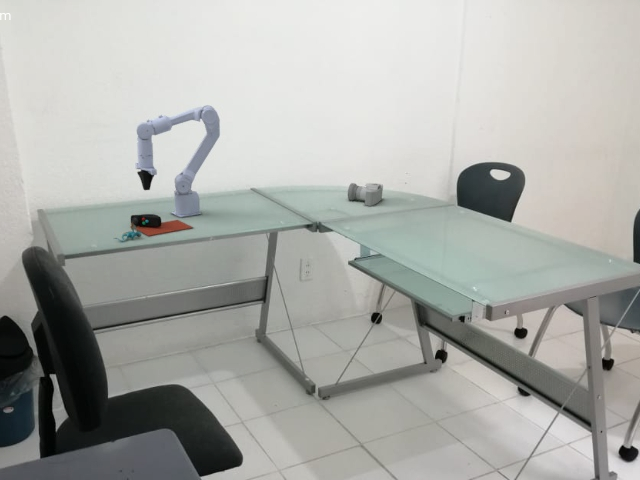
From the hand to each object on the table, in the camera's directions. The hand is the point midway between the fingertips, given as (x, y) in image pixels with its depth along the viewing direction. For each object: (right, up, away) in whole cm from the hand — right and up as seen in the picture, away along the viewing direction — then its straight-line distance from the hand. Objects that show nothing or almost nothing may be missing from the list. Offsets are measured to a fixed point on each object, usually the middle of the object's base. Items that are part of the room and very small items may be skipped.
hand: (146, 189), depth 238 cm
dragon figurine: (-1, -22, -24) cm, 33 cm away
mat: (+9, -17, -12) cm, 22 cm away
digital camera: (+91, +1, +33) cm, 97 cm away
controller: (+5, -12, -6) cm, 14 cm away
